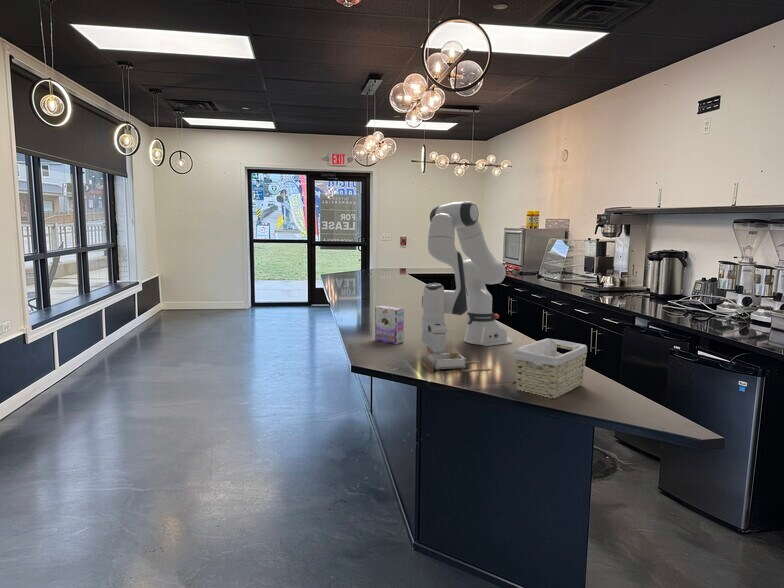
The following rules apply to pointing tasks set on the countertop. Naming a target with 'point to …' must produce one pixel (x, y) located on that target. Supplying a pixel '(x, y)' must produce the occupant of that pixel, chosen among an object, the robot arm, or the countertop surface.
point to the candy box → (389, 324)
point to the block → (429, 353)
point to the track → (431, 369)
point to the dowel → (453, 355)
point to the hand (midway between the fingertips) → (432, 358)
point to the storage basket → (550, 367)
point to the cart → (446, 361)
